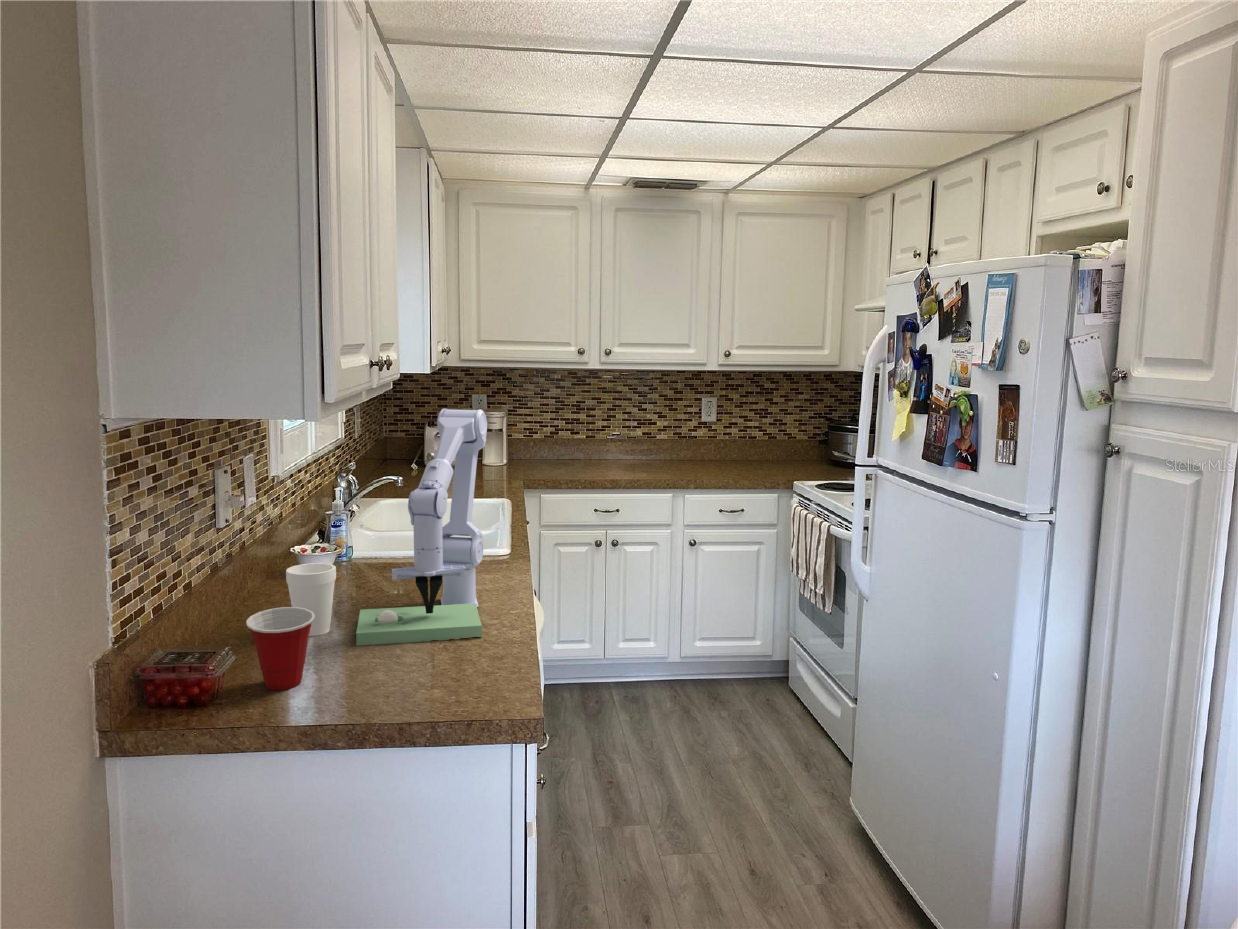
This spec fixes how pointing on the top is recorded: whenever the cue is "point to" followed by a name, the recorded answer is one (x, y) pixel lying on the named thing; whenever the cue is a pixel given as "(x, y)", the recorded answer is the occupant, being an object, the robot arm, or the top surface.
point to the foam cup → (313, 592)
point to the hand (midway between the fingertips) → (429, 612)
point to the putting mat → (419, 624)
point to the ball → (387, 617)
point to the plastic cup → (281, 644)
